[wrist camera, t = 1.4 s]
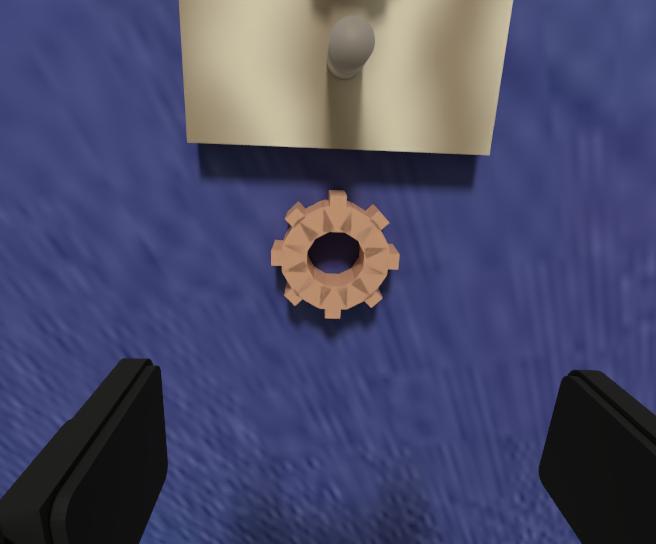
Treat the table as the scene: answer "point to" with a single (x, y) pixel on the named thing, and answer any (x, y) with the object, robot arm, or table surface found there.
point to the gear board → (366, 114)
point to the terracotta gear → (349, 284)
